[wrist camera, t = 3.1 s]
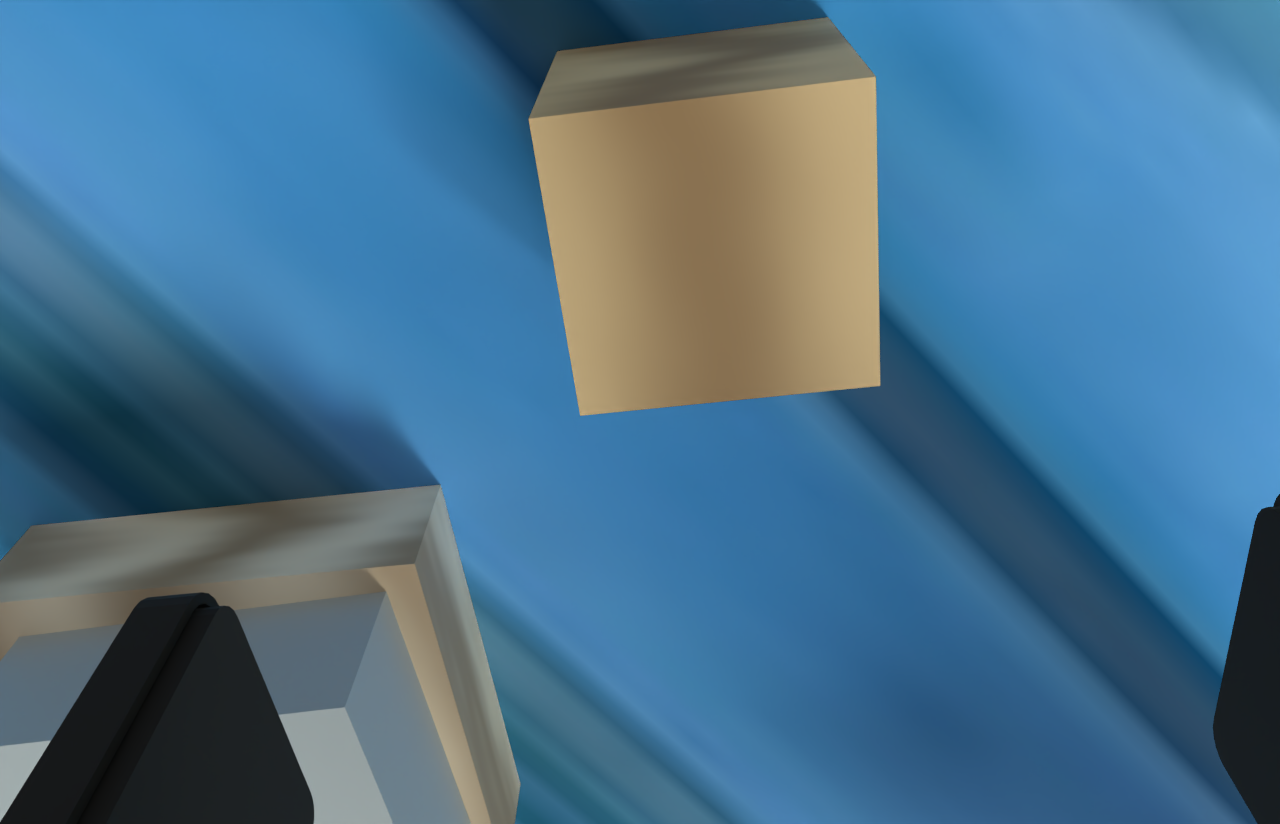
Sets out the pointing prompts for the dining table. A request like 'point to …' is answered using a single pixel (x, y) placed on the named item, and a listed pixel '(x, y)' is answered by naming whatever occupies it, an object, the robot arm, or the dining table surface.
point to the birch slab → (289, 595)
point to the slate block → (277, 707)
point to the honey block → (713, 215)
